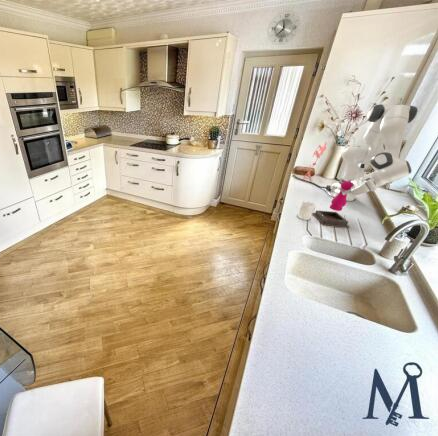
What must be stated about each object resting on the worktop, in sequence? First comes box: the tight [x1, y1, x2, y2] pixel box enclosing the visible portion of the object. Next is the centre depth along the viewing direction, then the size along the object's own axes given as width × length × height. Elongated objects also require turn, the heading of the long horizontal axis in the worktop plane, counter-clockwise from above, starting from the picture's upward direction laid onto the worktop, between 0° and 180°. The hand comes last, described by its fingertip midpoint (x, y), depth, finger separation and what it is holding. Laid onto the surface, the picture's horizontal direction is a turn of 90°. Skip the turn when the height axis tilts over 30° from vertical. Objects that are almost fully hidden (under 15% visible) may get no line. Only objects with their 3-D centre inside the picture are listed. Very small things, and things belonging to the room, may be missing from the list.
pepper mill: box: [329, 179, 354, 212], centre depth 143 cm, size 7×7×20 cm
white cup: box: [297, 200, 317, 221], centre depth 152 cm, size 8×8×10 cm
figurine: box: [302, 141, 328, 182], centre depth 212 cm, size 15×26×35 cm, turn 148°
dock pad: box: [311, 209, 350, 228], centre depth 152 cm, size 15×15×4 cm
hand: (342, 192), depth 143 cm, fingers closed on pepper mill, 5 cm apart
